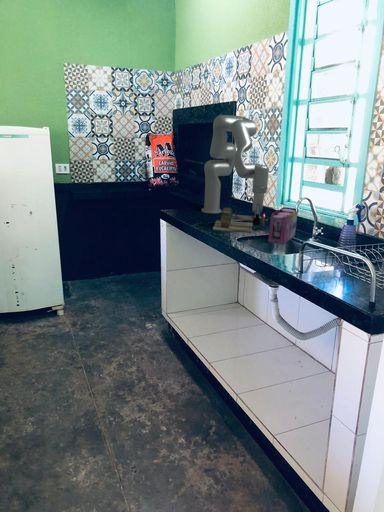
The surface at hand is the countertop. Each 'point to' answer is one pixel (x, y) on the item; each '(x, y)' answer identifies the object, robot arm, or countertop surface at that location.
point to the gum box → (282, 225)
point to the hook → (249, 218)
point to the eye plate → (231, 223)
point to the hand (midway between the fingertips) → (256, 224)
